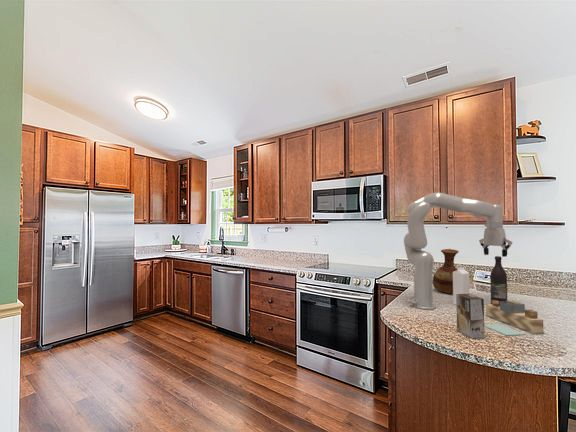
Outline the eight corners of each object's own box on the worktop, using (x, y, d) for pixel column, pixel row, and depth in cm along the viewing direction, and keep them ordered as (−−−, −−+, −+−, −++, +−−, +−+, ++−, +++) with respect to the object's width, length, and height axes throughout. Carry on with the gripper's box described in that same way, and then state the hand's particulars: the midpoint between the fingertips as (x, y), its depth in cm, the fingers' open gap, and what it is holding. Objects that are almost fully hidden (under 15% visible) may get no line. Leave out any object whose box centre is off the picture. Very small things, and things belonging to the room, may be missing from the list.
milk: (469, 305, 162) (469, 267, 163) (462, 307, 160) (462, 268, 160) (459, 303, 168) (459, 266, 168) (452, 304, 165) (452, 266, 166)
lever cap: (524, 313, 130) (524, 303, 130) (511, 313, 129) (511, 303, 129) (512, 309, 135) (512, 299, 136) (499, 309, 135) (499, 300, 135)
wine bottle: (487, 312, 150) (486, 256, 151) (496, 310, 152) (495, 255, 153) (502, 316, 143) (501, 257, 144) (510, 314, 146) (509, 256, 147)
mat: (506, 335, 118) (506, 334, 118) (483, 325, 130) (483, 324, 130) (525, 334, 119) (525, 333, 119) (500, 324, 131) (500, 323, 131)
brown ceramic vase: (434, 293, 190) (433, 249, 191) (431, 287, 208) (430, 247, 209) (468, 296, 182) (467, 250, 183) (462, 290, 201) (461, 248, 202)
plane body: (544, 333, 120) (543, 312, 121) (533, 334, 120) (532, 313, 120) (495, 315, 144) (495, 298, 144) (486, 316, 143) (485, 298, 144)
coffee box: (485, 338, 116) (485, 298, 116) (471, 338, 115) (470, 299, 116) (469, 329, 125) (468, 293, 125) (455, 330, 124) (455, 293, 125)
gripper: (475, 225, 169) (475, 254, 168) (507, 226, 153) (508, 257, 152) (483, 225, 171) (483, 253, 171) (515, 226, 156) (516, 257, 155)
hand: (495, 255), depth 162 cm, fingers open, 9 cm apart
